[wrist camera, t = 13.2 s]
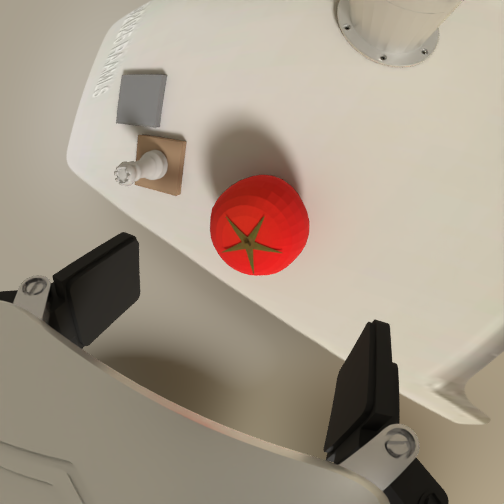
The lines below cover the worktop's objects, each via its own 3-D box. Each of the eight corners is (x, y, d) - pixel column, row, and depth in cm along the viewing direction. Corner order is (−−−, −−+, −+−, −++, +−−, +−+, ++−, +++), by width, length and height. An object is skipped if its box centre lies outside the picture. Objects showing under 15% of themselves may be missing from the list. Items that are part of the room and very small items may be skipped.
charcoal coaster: (127, 75, 37) (122, 75, 36) (167, 75, 35) (162, 74, 34) (121, 122, 40) (116, 123, 39) (159, 127, 39) (154, 127, 38)
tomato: (268, 267, 43) (244, 308, 34) (214, 207, 42) (175, 234, 33) (333, 220, 37) (326, 254, 28) (274, 151, 36) (246, 162, 27)
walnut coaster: (143, 134, 40) (138, 135, 39) (186, 141, 39) (182, 142, 38) (139, 182, 44) (134, 184, 43) (180, 193, 43) (176, 195, 42)
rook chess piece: (151, 182, 42) (116, 196, 35) (141, 155, 40) (105, 166, 34) (173, 172, 40) (138, 186, 33) (163, 144, 39) (126, 152, 32)
